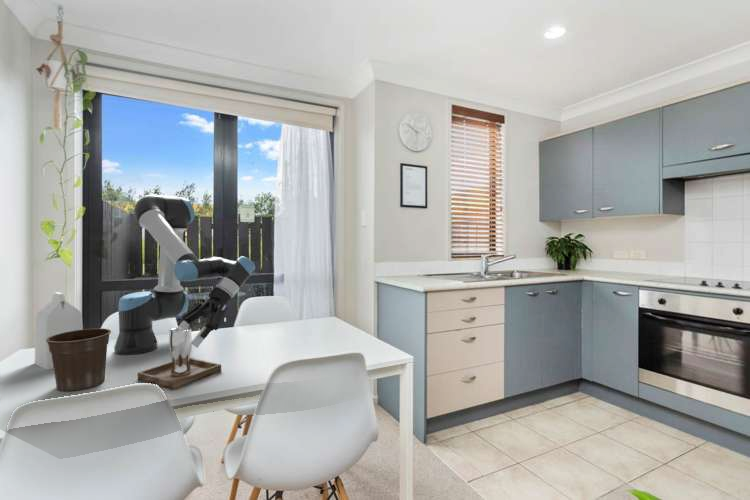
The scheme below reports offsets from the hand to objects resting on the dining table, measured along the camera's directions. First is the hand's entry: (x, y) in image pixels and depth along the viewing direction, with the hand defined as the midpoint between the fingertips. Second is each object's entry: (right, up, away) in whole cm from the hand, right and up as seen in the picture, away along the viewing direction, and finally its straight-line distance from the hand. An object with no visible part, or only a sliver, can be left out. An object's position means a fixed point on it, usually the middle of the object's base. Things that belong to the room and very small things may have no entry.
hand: (183, 341), depth 126 cm
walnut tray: (-1, -12, 0) cm, 12 cm away
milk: (-53, -11, +13) cm, 55 cm away
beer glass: (-1, -11, 0) cm, 11 cm away
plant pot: (-29, -12, -7) cm, 32 cm away
